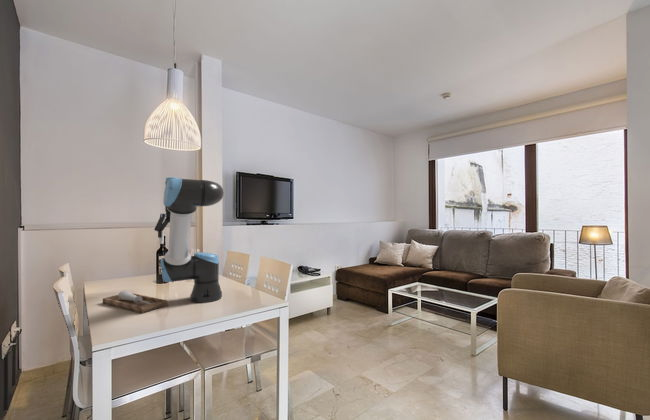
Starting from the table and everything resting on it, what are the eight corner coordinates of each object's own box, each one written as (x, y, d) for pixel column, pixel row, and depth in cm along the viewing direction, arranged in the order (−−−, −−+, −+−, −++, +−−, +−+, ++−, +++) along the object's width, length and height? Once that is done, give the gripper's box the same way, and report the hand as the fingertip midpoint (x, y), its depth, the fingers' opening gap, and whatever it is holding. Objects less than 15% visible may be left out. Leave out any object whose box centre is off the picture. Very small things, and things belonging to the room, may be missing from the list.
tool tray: (167, 305, 141) (167, 300, 141) (142, 313, 130) (142, 307, 130) (128, 297, 154) (128, 292, 154) (102, 303, 143) (102, 298, 143)
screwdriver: (147, 311, 135) (146, 302, 134) (116, 300, 146) (114, 292, 145) (157, 306, 139) (156, 297, 138) (126, 295, 150) (124, 288, 149)
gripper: (186, 205, 181) (186, 240, 182) (147, 204, 159) (146, 244, 159) (195, 205, 178) (195, 240, 178) (156, 204, 156) (156, 245, 156)
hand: (172, 242), depth 169 cm, fingers open, 13 cm apart
